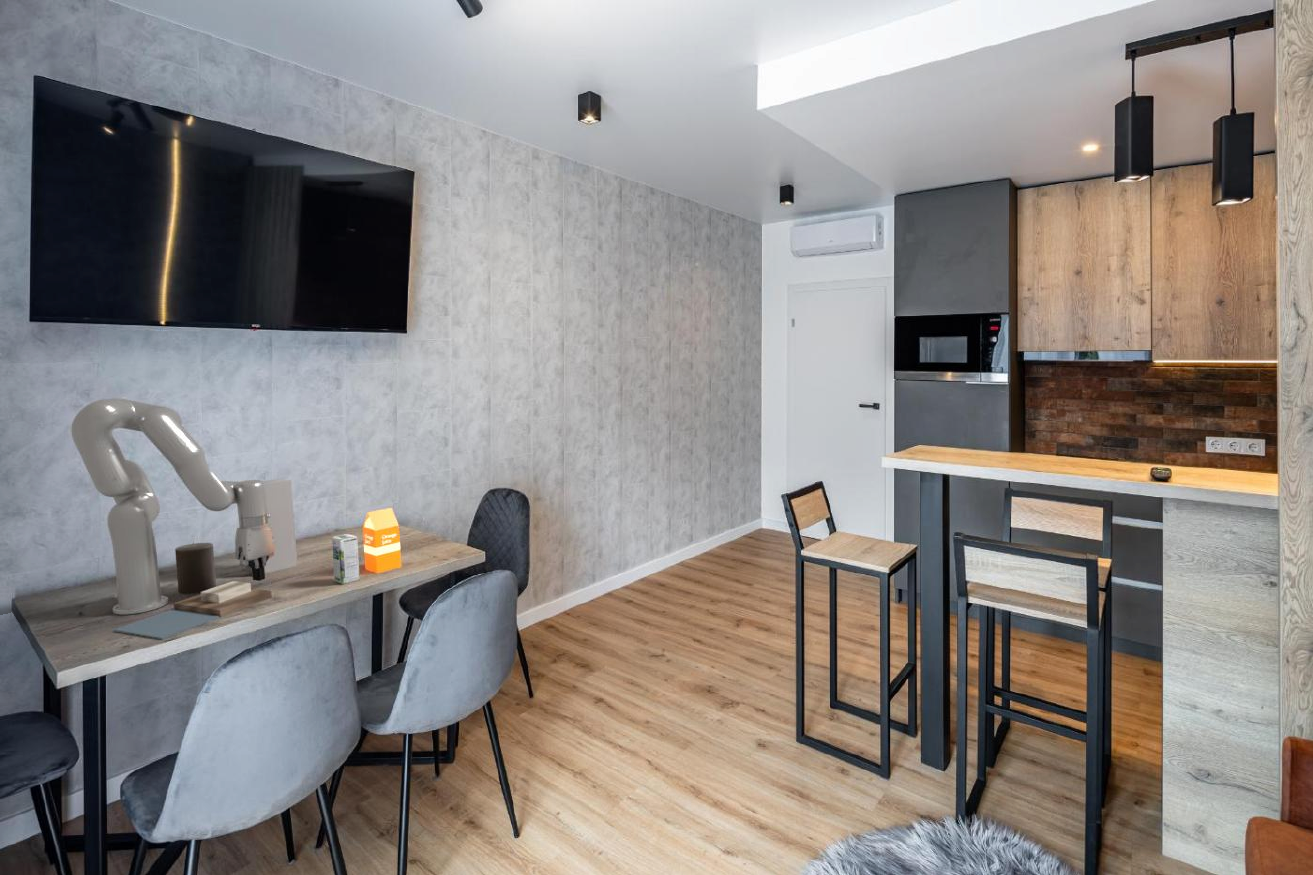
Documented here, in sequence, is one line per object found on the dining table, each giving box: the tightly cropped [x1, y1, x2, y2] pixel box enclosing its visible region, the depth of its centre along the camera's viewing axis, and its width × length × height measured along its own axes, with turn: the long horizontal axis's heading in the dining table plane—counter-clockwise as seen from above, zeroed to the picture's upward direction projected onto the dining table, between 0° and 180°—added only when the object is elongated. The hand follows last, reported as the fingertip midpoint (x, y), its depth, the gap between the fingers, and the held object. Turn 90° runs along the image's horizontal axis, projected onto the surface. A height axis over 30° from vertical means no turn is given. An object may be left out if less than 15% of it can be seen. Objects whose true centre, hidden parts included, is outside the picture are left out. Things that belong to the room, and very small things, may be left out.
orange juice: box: [362, 507, 402, 574], centre depth 221 cm, size 8×9×20 cm
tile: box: [200, 580, 252, 603], centre depth 191 cm, size 7×10×2 cm
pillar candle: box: [174, 542, 217, 595], centre depth 203 cm, size 10×10×15 cm
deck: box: [173, 587, 273, 618], centre depth 191 cm, size 18×16×2 cm
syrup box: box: [331, 533, 360, 585], centre depth 209 cm, size 6×6×14 cm
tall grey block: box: [244, 478, 298, 574], centre depth 221 cm, size 14×6×30 cm, turn 141°
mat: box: [113, 608, 220, 641], centre depth 176 cm, size 18×15×1 cm
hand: (259, 579), depth 201 cm, fingers closed
